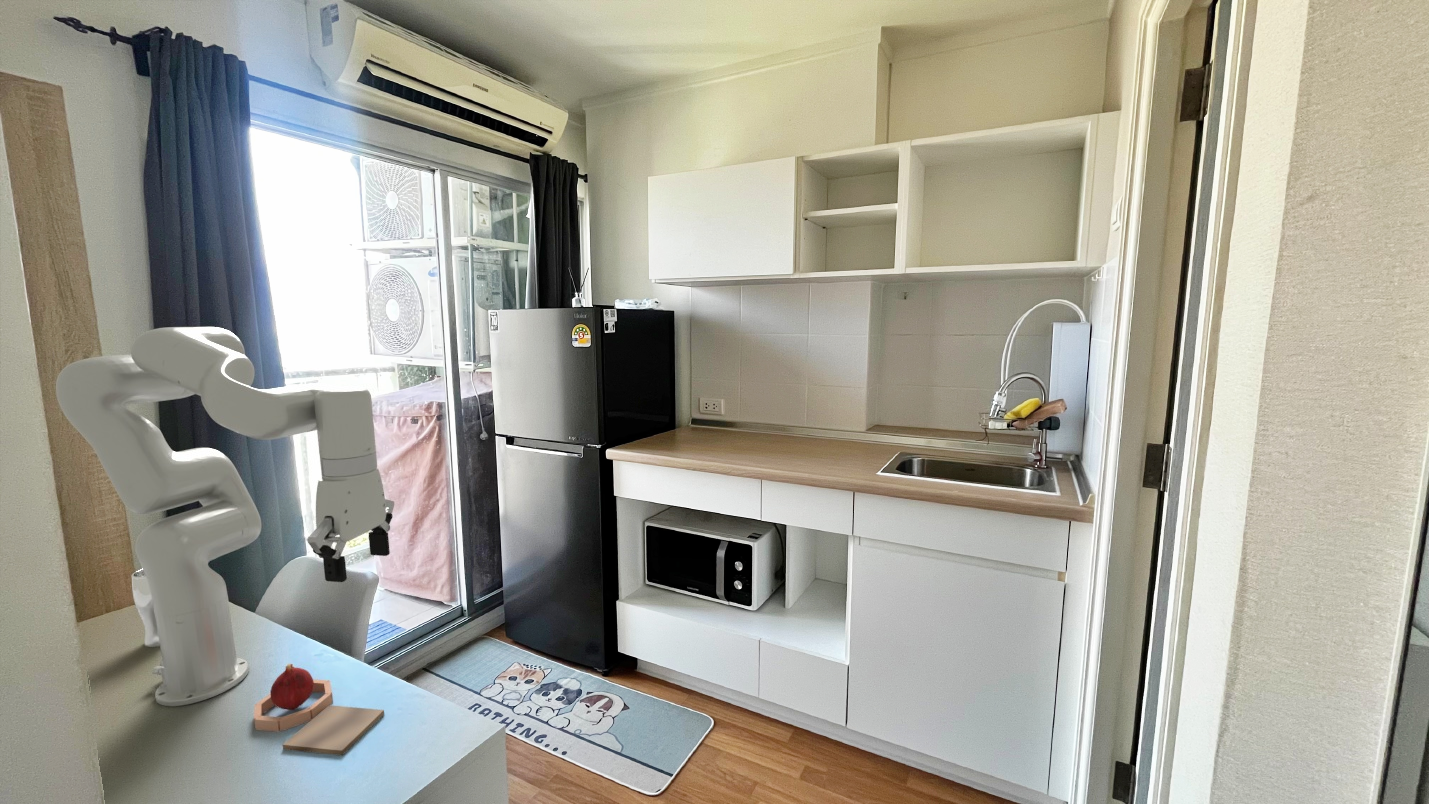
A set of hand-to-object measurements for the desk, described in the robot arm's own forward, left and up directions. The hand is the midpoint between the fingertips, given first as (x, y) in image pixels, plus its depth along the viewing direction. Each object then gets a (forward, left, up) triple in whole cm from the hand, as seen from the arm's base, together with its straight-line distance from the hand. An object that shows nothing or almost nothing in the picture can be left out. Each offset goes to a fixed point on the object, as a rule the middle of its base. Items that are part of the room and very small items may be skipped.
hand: (359, 567), depth 93 cm
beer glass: (-58, +14, -25) cm, 64 cm away
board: (-2, -6, -25) cm, 26 cm away
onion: (-13, -2, -25) cm, 28 cm away
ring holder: (-13, -2, -25) cm, 28 cm away
